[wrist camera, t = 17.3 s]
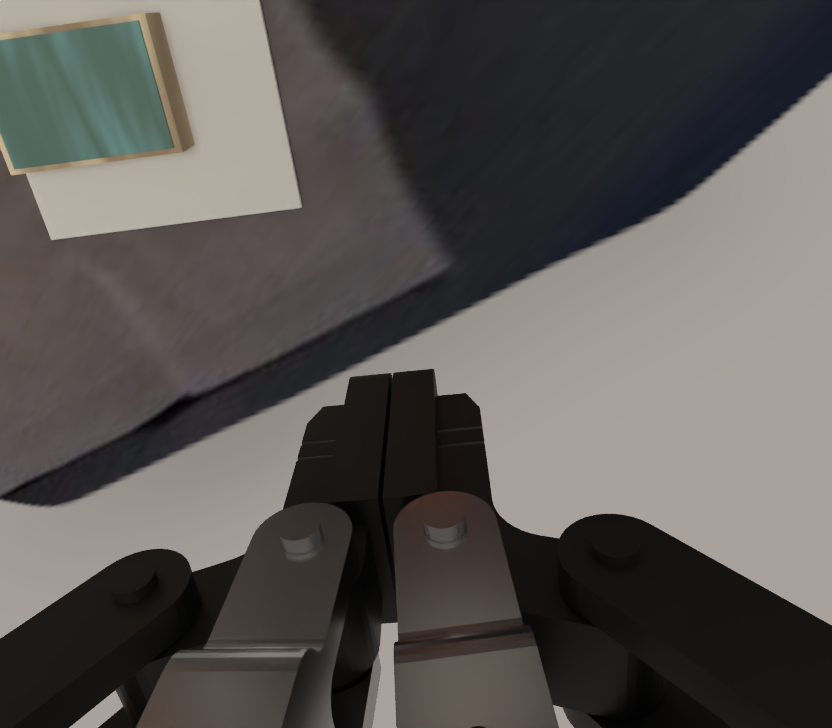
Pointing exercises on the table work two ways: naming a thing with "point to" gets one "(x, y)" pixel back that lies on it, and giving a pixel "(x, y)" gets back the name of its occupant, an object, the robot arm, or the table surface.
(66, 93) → the slab
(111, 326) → the table surface
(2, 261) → the table surface
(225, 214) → the mat
